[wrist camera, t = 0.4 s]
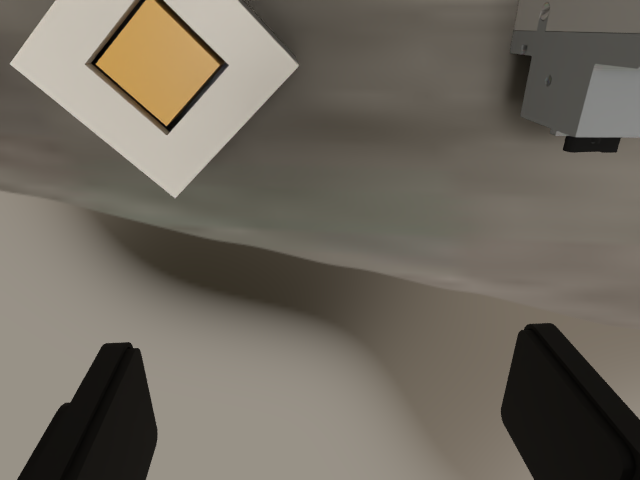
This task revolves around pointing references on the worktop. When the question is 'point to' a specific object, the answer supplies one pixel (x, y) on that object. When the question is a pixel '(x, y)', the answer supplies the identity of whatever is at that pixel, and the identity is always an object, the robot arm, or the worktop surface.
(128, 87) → the button
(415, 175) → the worktop surface
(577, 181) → the worktop surface
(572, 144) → the circuit breaker
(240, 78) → the square socket block
